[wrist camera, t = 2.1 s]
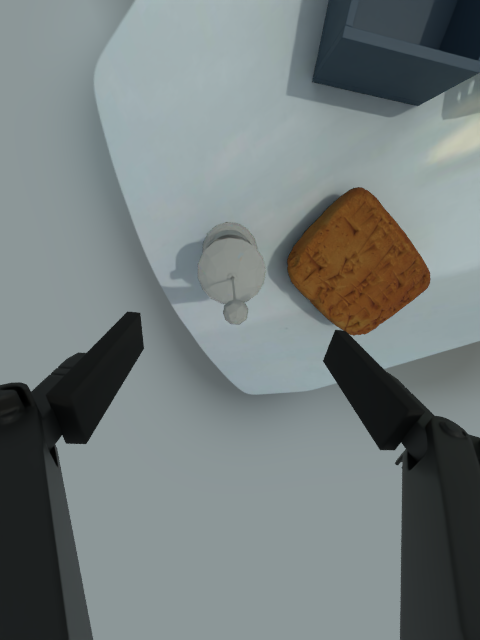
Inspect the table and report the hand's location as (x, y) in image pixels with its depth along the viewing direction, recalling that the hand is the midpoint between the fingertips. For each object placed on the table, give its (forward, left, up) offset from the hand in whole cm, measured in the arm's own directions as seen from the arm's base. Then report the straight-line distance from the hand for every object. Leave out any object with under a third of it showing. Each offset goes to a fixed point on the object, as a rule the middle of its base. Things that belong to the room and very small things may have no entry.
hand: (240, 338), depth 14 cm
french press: (0, 0, -26) cm, 26 cm away
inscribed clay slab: (-1, +21, -26) cm, 34 cm away
